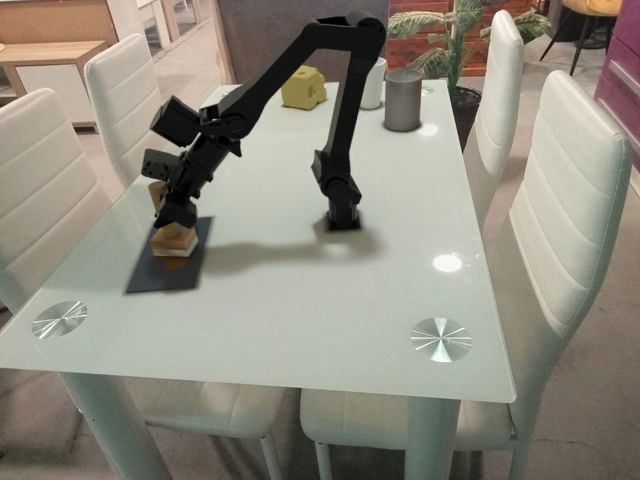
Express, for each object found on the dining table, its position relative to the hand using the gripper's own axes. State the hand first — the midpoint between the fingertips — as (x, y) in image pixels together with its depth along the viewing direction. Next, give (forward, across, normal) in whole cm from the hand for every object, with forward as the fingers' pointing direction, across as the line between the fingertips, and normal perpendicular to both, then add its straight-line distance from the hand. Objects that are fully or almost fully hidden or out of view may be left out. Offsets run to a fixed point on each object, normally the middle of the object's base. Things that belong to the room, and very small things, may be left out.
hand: (156, 222), depth 89 cm
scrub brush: (+3, 0, +6) cm, 7 cm away
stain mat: (+4, 0, +6) cm, 7 cm away
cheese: (-23, -67, +34) cm, 79 cm away
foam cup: (-36, -58, +47) cm, 83 cm away
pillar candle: (-39, -41, +50) cm, 76 cm away
